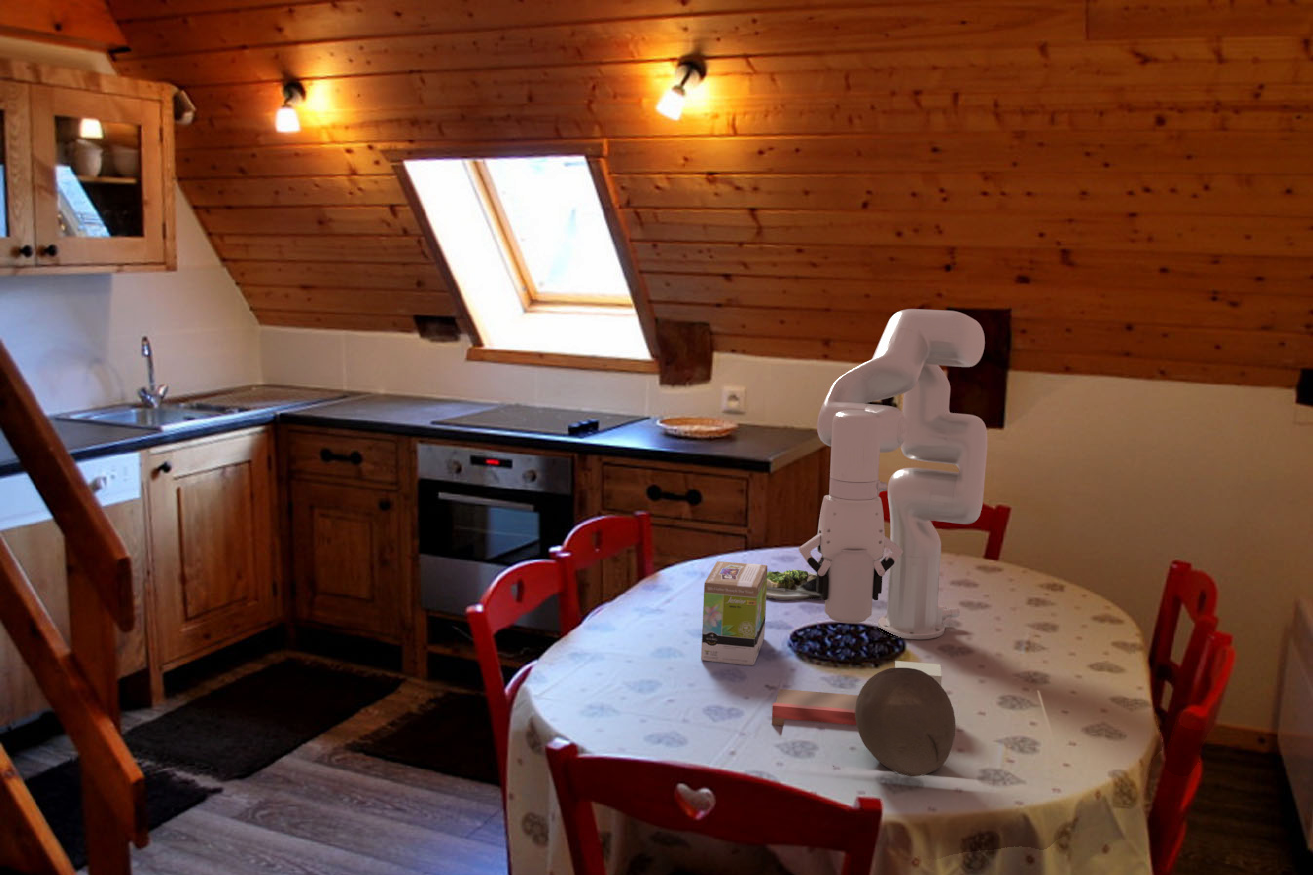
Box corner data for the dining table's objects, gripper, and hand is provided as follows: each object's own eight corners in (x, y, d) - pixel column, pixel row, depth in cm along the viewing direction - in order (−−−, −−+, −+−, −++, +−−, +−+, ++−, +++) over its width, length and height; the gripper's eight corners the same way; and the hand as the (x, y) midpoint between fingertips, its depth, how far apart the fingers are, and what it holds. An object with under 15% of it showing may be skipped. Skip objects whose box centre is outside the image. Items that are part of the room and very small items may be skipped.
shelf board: (939, 709, 198) (940, 690, 197) (942, 739, 186) (943, 720, 185) (778, 695, 202) (779, 677, 202) (771, 724, 191) (772, 705, 190)
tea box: (756, 666, 215) (758, 586, 213) (699, 662, 217) (701, 582, 215) (765, 638, 230) (768, 562, 227) (713, 634, 232) (714, 558, 229)
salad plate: (749, 606, 249) (749, 584, 248) (730, 580, 266) (730, 560, 266) (840, 603, 252) (841, 581, 251) (815, 577, 269) (816, 557, 269)
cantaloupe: (952, 755, 181) (957, 659, 178) (952, 799, 167) (958, 695, 165) (855, 745, 184) (860, 650, 181) (848, 787, 170) (853, 685, 168)
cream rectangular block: (937, 712, 193) (940, 664, 192) (938, 725, 188) (941, 676, 187) (892, 708, 195) (895, 660, 193) (892, 721, 190) (895, 672, 188)
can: (857, 608, 200) (860, 537, 198) (880, 622, 193) (884, 548, 191) (815, 612, 197) (819, 540, 195) (837, 626, 190) (841, 552, 188)
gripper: (902, 484, 196) (896, 591, 199) (794, 484, 195) (790, 591, 198) (914, 494, 188) (908, 605, 191) (802, 494, 187) (798, 605, 190)
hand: (848, 597), depth 194 cm, fingers closed on can, 7 cm apart
